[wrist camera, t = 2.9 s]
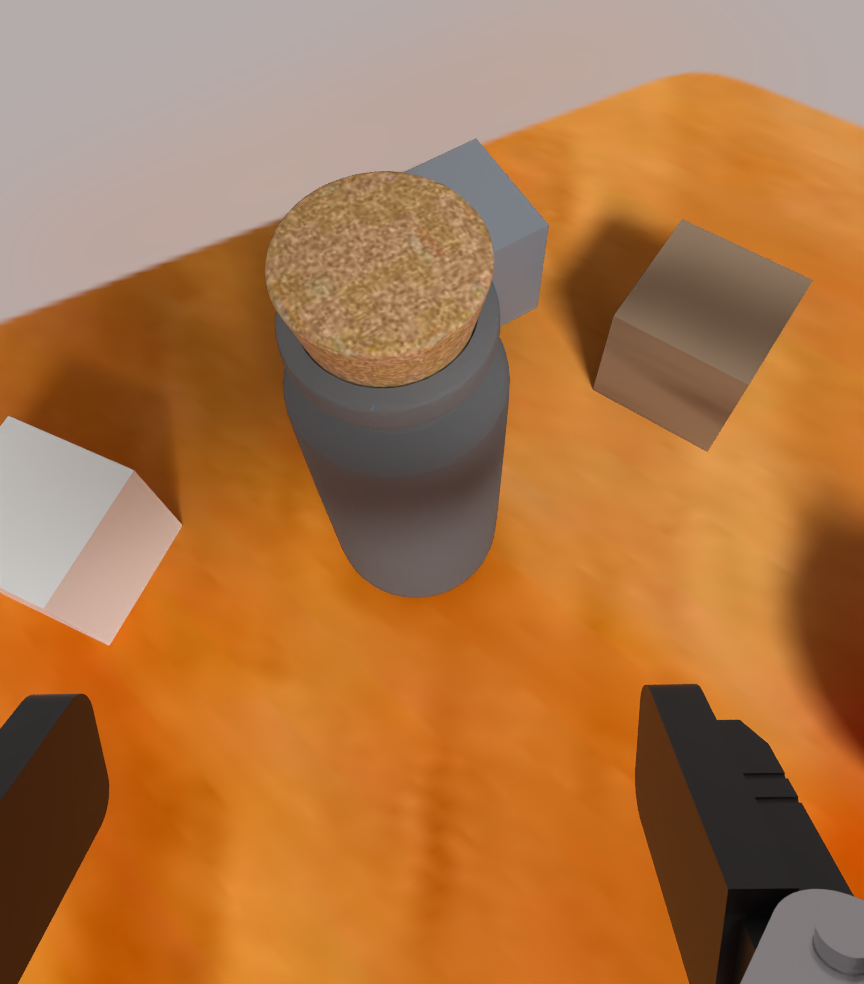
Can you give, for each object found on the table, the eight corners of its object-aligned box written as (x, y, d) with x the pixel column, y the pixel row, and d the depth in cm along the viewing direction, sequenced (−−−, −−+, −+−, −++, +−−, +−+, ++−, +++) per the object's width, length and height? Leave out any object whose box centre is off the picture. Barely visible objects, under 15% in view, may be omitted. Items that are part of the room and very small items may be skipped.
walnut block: (652, 303, 34) (682, 219, 29) (764, 359, 33) (813, 280, 28) (592, 390, 32) (613, 315, 28) (706, 452, 31) (748, 385, 27)
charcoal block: (474, 228, 36) (475, 138, 31) (537, 308, 34) (548, 224, 29) (375, 277, 35) (362, 191, 30) (434, 362, 33) (430, 284, 29)
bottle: (326, 470, 31) (219, 177, 18) (474, 439, 32) (484, 126, 18) (353, 615, 29) (255, 409, 15) (513, 579, 29) (558, 345, 16)
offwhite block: (74, 477, 32) (8, 415, 27) (183, 526, 31) (134, 470, 26) (-4, 591, 30) (-88, 545, 25) (109, 646, 29) (43, 608, 24)
